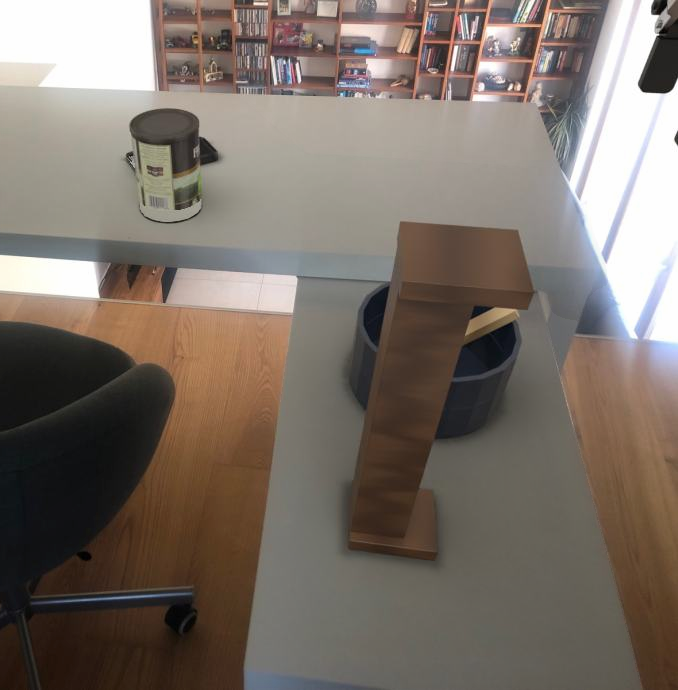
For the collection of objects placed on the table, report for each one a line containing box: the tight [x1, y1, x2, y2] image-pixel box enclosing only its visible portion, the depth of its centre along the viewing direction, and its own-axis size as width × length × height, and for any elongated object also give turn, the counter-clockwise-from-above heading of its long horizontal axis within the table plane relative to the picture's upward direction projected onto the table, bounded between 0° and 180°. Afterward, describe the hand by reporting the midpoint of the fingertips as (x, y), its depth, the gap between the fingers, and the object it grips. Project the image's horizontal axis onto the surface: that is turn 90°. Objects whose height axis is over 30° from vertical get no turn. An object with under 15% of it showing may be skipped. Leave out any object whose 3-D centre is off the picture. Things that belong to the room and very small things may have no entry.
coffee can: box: [128, 107, 203, 211], centre depth 106 cm, size 10×10×14 cm
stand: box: [347, 220, 535, 561], centre depth 57 cm, size 8×7×32 cm
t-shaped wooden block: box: [462, 307, 521, 346], centre depth 78 cm, size 14×5×2 cm
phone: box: [125, 136, 219, 174], centre depth 122 cm, size 8×1×15 cm
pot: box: [348, 281, 523, 439], centre depth 78 cm, size 17×17×9 cm
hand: (671, 117), depth 46 cm, fingers open, 8 cm apart
